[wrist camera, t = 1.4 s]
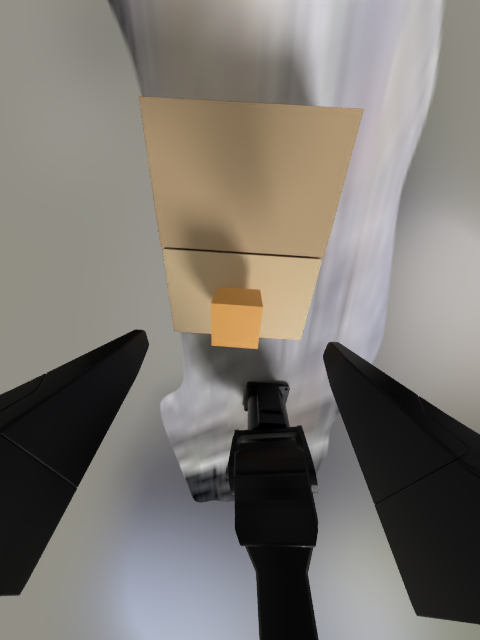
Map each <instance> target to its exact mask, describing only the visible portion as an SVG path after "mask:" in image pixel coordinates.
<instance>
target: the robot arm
mask: <svg viewBox="0 0 480 640" xmlns="http://www.w3.org/2000/svg"><path fill="white" fill-rule="evenodd" d="M148 347H149V342H148V339H147V335H146V332H145V331H144V330H133V331H131V332H129V333H127V334H125V335H123V336H121V337H119V338H117V339H115V340H113V341H111V342H109V343H107V344H105V345H103V346H101V347H98V348H97V349H94V350H92V351H90V352H88V353H86V354H84V355H82V356H80V357H78V358H76V359H74V360H72V361H70V362H68V363H66V364H64V365H62V366H60V367H58V368H56V369H53V370H52V371H49V372H47V374H43V375H41V376H39V377H37V378H35V379H33V380H31V381H29V382H27V383H25V384H22V385H20V386H18V387H16V388H14V389H12V390H10V391H8V392H5V393H3V394H1V395H0V596H18V595H20V593H21V592H22V590H23V588H24V587H25V585H26V583H27V582H28V580H29V578H30V576H31V574H32V572H33V570H34V568H35V567H36V565H37V563H38V561H39V559H40V557H41V555H42V553H43V551H44V550H45V548H46V546H47V544H48V542H49V540H50V538H51V537H52V535H53V533H54V531H55V529H56V527H57V525H58V523H59V521H60V519H61V518H62V516H63V514H64V512H65V510H66V508H67V506H68V505H69V503H70V501H71V499H72V497H73V495H74V493H75V492H76V490H77V488H76V487H78V486H79V484H80V482H81V480H82V478H83V476H84V474H85V472H86V471H87V469H88V467H89V465H90V463H91V461H92V459H93V457H94V456H95V454H96V452H97V450H98V448H99V446H100V444H101V442H102V441H103V439H104V437H105V435H106V433H107V431H108V429H109V427H110V425H111V424H112V422H113V420H114V418H115V416H116V414H117V412H118V411H119V409H120V406H121V405H122V403H123V401H124V399H125V397H126V395H127V394H128V392H129V390H130V388H131V386H132V384H133V382H134V381H135V379H136V376H137V375H138V372H139V370H140V368H141V365H142V362H143V360H144V357H145V355H146V352H147V350H148ZM323 360H324V364H325V367H326V371H327V375H328V379H329V383H330V387H331V390H332V392H333V395H334V398H335V400H336V403H337V406H338V408H339V411H340V414H341V416H342V419H343V422H344V424H345V427H346V430H347V432H348V435H349V438H350V440H351V443H352V446H353V448H354V451H355V454H356V456H357V459H358V462H359V464H360V467H361V470H362V472H363V475H364V477H365V480H366V483H367V486H368V488H369V491H370V494H371V496H372V499H373V502H374V504H375V507H376V510H377V513H378V515H379V518H380V521H381V523H382V526H383V529H384V532H385V534H386V537H387V540H388V542H389V544H390V548H391V550H392V553H393V555H394V558H395V561H396V564H397V566H398V569H399V572H400V574H401V577H402V580H403V582H404V585H405V588H406V590H407V593H408V595H409V598H410V601H411V603H412V606H413V608H414V610H415V613H416V615H417V616H421V617H429V618H436V619H444V620H452V621H459V622H466V623H474V624H479V625H480V434H478V433H477V432H475V431H473V430H472V429H470V428H468V427H467V426H465V425H463V424H462V423H460V422H459V421H457V420H455V419H454V418H452V417H451V416H449V415H447V414H446V413H444V412H443V411H441V410H440V409H438V408H437V407H435V406H433V405H432V404H430V403H429V402H427V401H426V400H424V399H423V398H421V397H418V395H416V394H415V393H414V392H412V391H411V390H409V389H408V388H406V387H405V386H403V385H402V384H400V383H399V382H397V381H396V380H394V379H393V378H391V377H390V376H388V375H387V374H385V373H384V372H382V371H381V370H379V369H378V368H376V367H374V366H373V365H372V364H370V363H369V362H367V361H366V360H364V359H363V358H361V357H360V356H358V355H357V354H355V353H354V352H352V351H351V350H349V349H348V348H346V347H345V346H343V345H342V344H340V343H338V342H329V343H328V344H327V347H326V349H325V351H324V354H323ZM289 390H290V388H289V386H288V385H283V384H270V383H256V382H248V383H247V386H246V396H245V405H244V410H245V411H248V430H235V433H234V436H233V439H232V445H231V451H230V456H229V462H228V465H227V468H226V476H227V477H228V479H229V485H230V491H231V494H232V495H234V497H235V530H236V534H237V537H238V540H239V543H240V545H241V546H245V547H246V549H247V552H248V554H249V556H250V559H251V561H252V563H253V566H254V568H255V571H256V580H257V598H258V618H259V637H260V640H318V634H317V628H316V622H315V616H314V610H313V604H312V598H311V592H310V585H309V579H308V570H309V565H310V560H311V555H312V551H313V547H315V546H316V540H317V534H318V518H317V513H316V508H315V503H314V498H313V493H318V484H317V478H316V473H315V469H314V465H313V461H312V457H311V454H310V451H309V447H308V444H307V441H306V438H305V435H304V432H303V429H302V426H301V425H300V426H297V427H290V425H289V420H288V415H287V410H286V406H285V404H286V401H287V397H288V394H289Z"/></svg>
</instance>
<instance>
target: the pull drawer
mask: <svg viewBox="0 0 480 640" xmlns="http://www.w3.org/2000/svg"><path fill="white" fill-rule="evenodd" d="M162 251H163V257H164V264H165V271H166V278H167V285H168V292H169V299H170V305H171V313H172V320H173V326H174V331H177V332H191V333H205V334H211V337H212V346H223V347H237V348H251V349H258V342H259V337H262V338H276V339H290V340H301V337H302V333H303V329H304V326H305V322H306V318H307V314H308V311H309V307H310V303H311V300H312V296H313V292H314V288H315V285H316V281H317V277H318V273H319V270H320V266H321V262H322V259H320V258H309V257H294V256H279V255H263V254H248V253H233V252H218V251H202V250H187V249H172V248H164V249H162Z"/></svg>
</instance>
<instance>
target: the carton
mask: <svg viewBox="0 0 480 640" xmlns="http://www.w3.org/2000/svg"><path fill="white" fill-rule="evenodd" d="M139 102H140V108H141V115H142V122H143V128H144V134H145V142H146V148H147V156H148V163H149V169H150V176H151V183H152V190H153V196H154V203H155V210H156V216H157V224H158V230H159V236H160V244H161V247H165V248H172V249H187V250H202V251H218V252H233V253H248V254H263V255H279V256H294V257H309V258H321V257H324V255H325V251H326V248H327V244H328V240H329V237H330V233H331V229H332V225H333V222H334V218H335V214H336V211H337V207H338V203H339V200H340V196H341V192H342V188H343V185H344V181H345V177H346V174H347V170H348V166H349V163H350V159H351V155H352V151H353V148H354V144H355V140H356V137H357V133H358V129H359V126H360V122H361V118H362V114H363V111H364V109H357V108H339V107H321V106H303V105H285V104H267V103H248V102H230V101H212V100H194V99H176V98H158V97H140V96H139Z"/></svg>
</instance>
